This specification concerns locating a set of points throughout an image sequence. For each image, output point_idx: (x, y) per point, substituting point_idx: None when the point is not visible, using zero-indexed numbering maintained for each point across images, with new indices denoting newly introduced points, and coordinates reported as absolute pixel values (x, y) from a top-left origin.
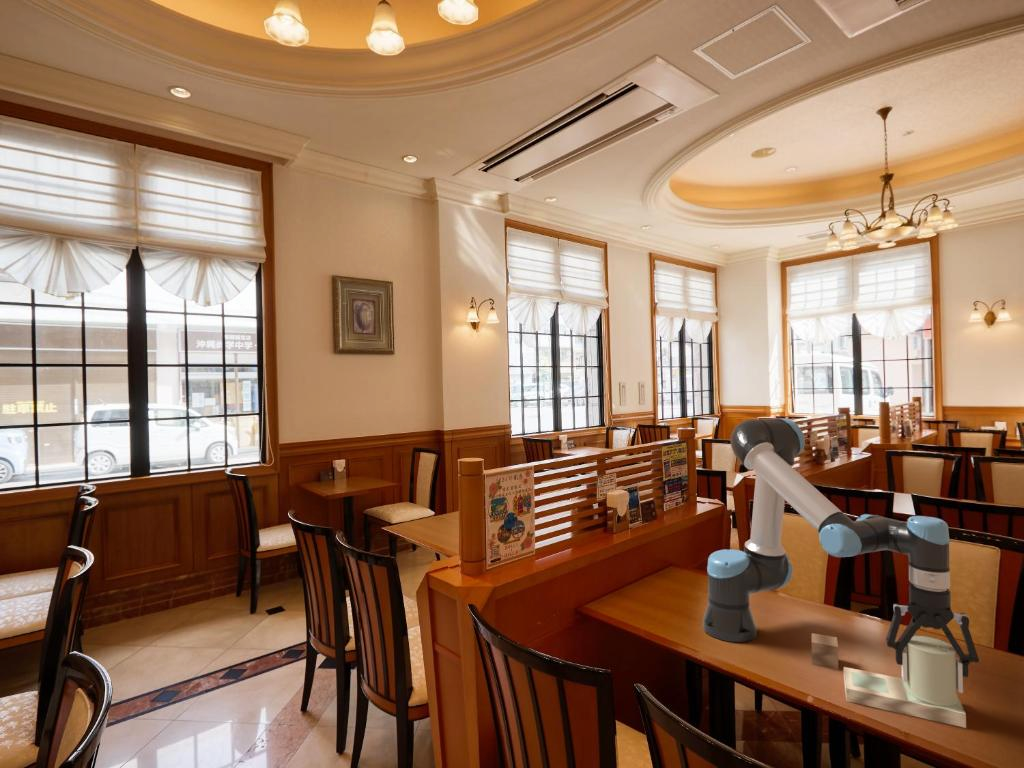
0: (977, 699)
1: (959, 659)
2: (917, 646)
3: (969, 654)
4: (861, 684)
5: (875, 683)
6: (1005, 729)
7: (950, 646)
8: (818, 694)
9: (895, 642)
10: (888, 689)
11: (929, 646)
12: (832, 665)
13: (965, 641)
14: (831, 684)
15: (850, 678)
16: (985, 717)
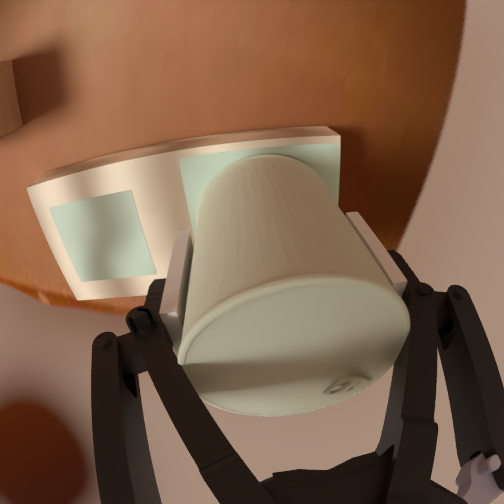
0: (387, 80)
1: (402, 292)
2: (236, 399)
3: (444, 317)
4: (92, 265)
5: (116, 239)
6: (399, 212)
7: (398, 332)
8: (44, 280)
9: (137, 362)
10: (152, 254)
11: (291, 380)
12: (7, 133)
13: (458, 371)
14: (38, 223)
15: (62, 248)
16: (379, 177)
